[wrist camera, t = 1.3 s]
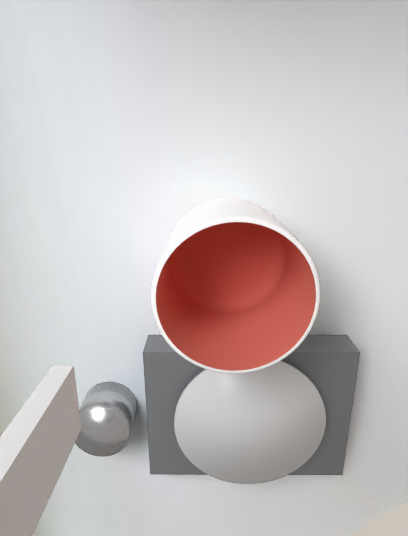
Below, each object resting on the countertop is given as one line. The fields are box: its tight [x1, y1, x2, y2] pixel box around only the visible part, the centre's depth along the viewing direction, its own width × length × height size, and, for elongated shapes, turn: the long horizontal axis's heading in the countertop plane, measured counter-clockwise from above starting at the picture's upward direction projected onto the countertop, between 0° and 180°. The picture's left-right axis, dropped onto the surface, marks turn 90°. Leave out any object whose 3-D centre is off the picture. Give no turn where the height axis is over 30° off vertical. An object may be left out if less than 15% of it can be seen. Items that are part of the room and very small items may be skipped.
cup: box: [151, 198, 320, 374], centre depth 26 cm, size 10×10×10 cm
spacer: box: [75, 382, 137, 456], centre depth 34 cm, size 5×5×4 cm
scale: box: [143, 335, 360, 484], centre depth 33 cm, size 13×18×4 cm
